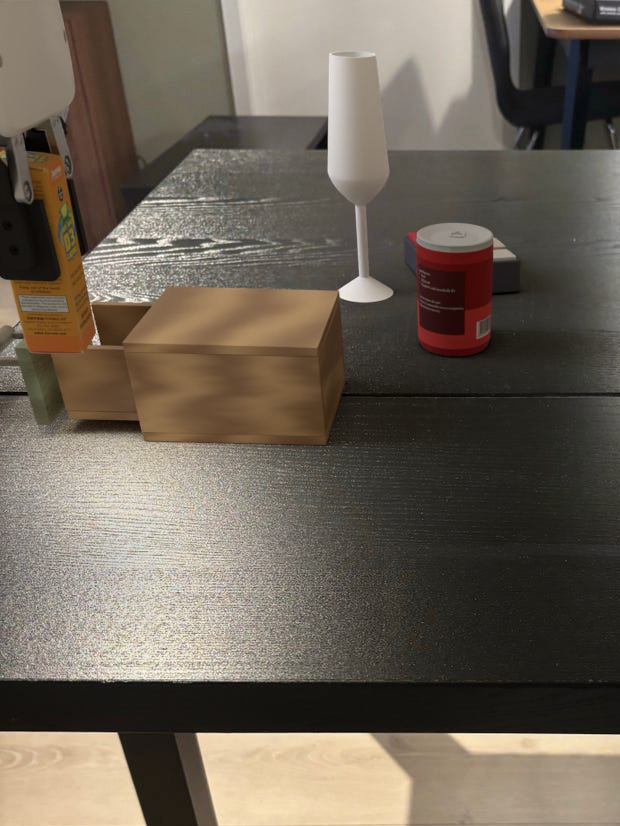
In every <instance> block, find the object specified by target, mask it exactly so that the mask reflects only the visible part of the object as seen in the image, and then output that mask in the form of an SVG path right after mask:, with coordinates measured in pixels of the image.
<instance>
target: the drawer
mask: <svg viewBox="0 0 620 826" xmlns="http://www.w3.org/2000/svg"><path fill="white" fill-rule="evenodd" d="M154 303H155V302H132V301H130V302H128V301H97V300H95V301H93V302H92V303H90V305H91V310H92V315H93V320H94V325H95V329H96V333H97V335H98V340H99V344H100V345H99V344H97V345H96V344H93V340H92V341H91V342H90V344H89V346H88V347H87V349H86V351H85V352H84V353H83V354H41V353H31V352H30V351H29V350H28V349H27V346H26V342H25V339H24V335H23V331H22V330H16V328H14V327H13V326H11V325H8V324H4V325H3V326H1V328H0V354H2V352H4V351H5V350H6V349H7V348H8V347H9V346H10V345H11V344H12V343H13V342H14V341H15V340H20V342H18V343H17V344H16V346H14V347H13V349H14V353H15V355H16V356H9V357H8V356H0V367H19V369H20V372H21V375H22V379H23V382H24V385H25V386H24V387H25V389H26V393H27V395H28V400H29V402H30V406H31V409H32V413H33V416H34V419H35V421H36V422H35V423H36V426H52V425H53V423H54V422H55V421H56V420H57V419H58V417H59V416H61V414H62V413H63V412H64V410H66V414H67V417H68V419H69V420H100V421H103V420H104V421H137V422H138V421H139V417H138V412H137V408H136V403H135V399H134V394H133V390H132V385H131V381H130V376H129V372H128V367H127V363H126V358H125V354H124V349H123V344H122V342H123V341H124V340H125V339H126V337H127V336H128V335H129V334H130V332H131V331H132V330H133V329H134V328H135V326H136V325H137V324H138V323H139V321H140V320H141V319H142V318H143V316H144V315H145V314H146V313H147V312H148V310H149V309H150V308H151V307H152V305H153V304H154ZM139 422H140V421H139Z"/></svg>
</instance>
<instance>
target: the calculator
mask: <svg viewBox="0 0 620 826" xmlns="http://www.w3.org/2000/svg"><path fill="white" fill-rule="evenodd" d="M417 232H418V231H409V232H408V233H407V234H408V235H406V236H404V237H403V248H404V251H403V252H404V262H405V263H406V265H408V267H410V269H411V270H412V271H413V272H414V274H415V276H417V264H416V239H417ZM493 241H494V244H493V279H492V294H499V293H500V294H501V293H515V292H520V288H521V260H520V259H519V258H518V257H517V256H516V254H514V253H513V252H511V251H510V250H509V249H508V248H507V246H506V245H505V244H504V243H502V241H500V240H499V239H498V238H497V237H493Z"/></svg>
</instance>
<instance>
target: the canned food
mask: <svg viewBox="0 0 620 826" xmlns="http://www.w3.org/2000/svg"><path fill="white" fill-rule="evenodd" d="M416 232H417V239H416V264H417V275H416V296H417V297H416V303H417V304H416V305H417V307H416V308H417V309H416V310H417V336H418V340H419V343H420V346H421V347H422V348H423V349H424V350H426V351H427V352H429V353H432V354H434V355H438V356H442V357H443V356H444V357H468V356H471V355H475V354H478V353H480V352H482V351H484V350H486V348H487V347H488V345H489V343H490V339H491V333H492V330H491V329H492V306H493V305H492V302H493V293H492V279H493V244H494V241H493V238H494V234H493V232H492V231H491V230H490V229H488V228H486V227H483V226H480V225H477V224H473V223H472V224H471V223H464V222H444V223H443V222H442V223H435V224H431V225H427V226H424V227H422V228H420V229H419V230H418V231H416Z"/></svg>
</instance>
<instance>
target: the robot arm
mask: <svg viewBox="0 0 620 826" xmlns="http://www.w3.org/2000/svg"><path fill="white" fill-rule="evenodd" d="M68 40H69V39H68V36H67V30H66V27H65V22H64V18H63V13H62V8H61V5H60V1H59V0H0V147H1V148H3V149H4V150H5V154H6V160H7V165H8V167H7V165H6V164H5V163H4V162H3V160H2V159H1V158H0V278H1V279H3V280H6V281H10V280H22V281H47V282H53V281H56V280H57V279H58V278H59V277H60V275H61V271H60V267H59V263H58V258H57V254H56V250H55V246H54V242H53V238H52V234H51V230H50V226H49V222H48V217H47V213H46V209H45V205H44V201H43V200H36V199H34V192H33V186H32V181H31V175H30V170H29V165H28V160H27V154H26V151H32V152H43V153H50V154H55V155H59V156H61V157H62V159H63V164H64V170H65V175H66V181H67V186H68V191H69V196H70V202H71V207H72V212H73V216H74V221H75V226H76V232H77V238H78V243H79V248H80V253H81V257H83V256H84V255H86V254H87V253H88V251H89V245H88V240H87V236H86V231H85V226H84V222H83V221H84V220H83V217H82V214H81V213H82V211H81V210H80V209H81V208H80V204H79V199H78V195H77V191H76V186H75V181H74V179H73V178H72V177H73V174H74V164H73V159H72V157H71V153H70V149H69V146H68V141H67V135H68V132H69V131H68V130H67V128H68V125H67V119H68V114H69V112H70V106H71V105H70V104H71V103H72V102H73V100H74V98H75V95H76V82H75V74H74V68H73V61H72V56H71V51H70V50H71V49H70V46H69V41H68Z"/></svg>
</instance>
